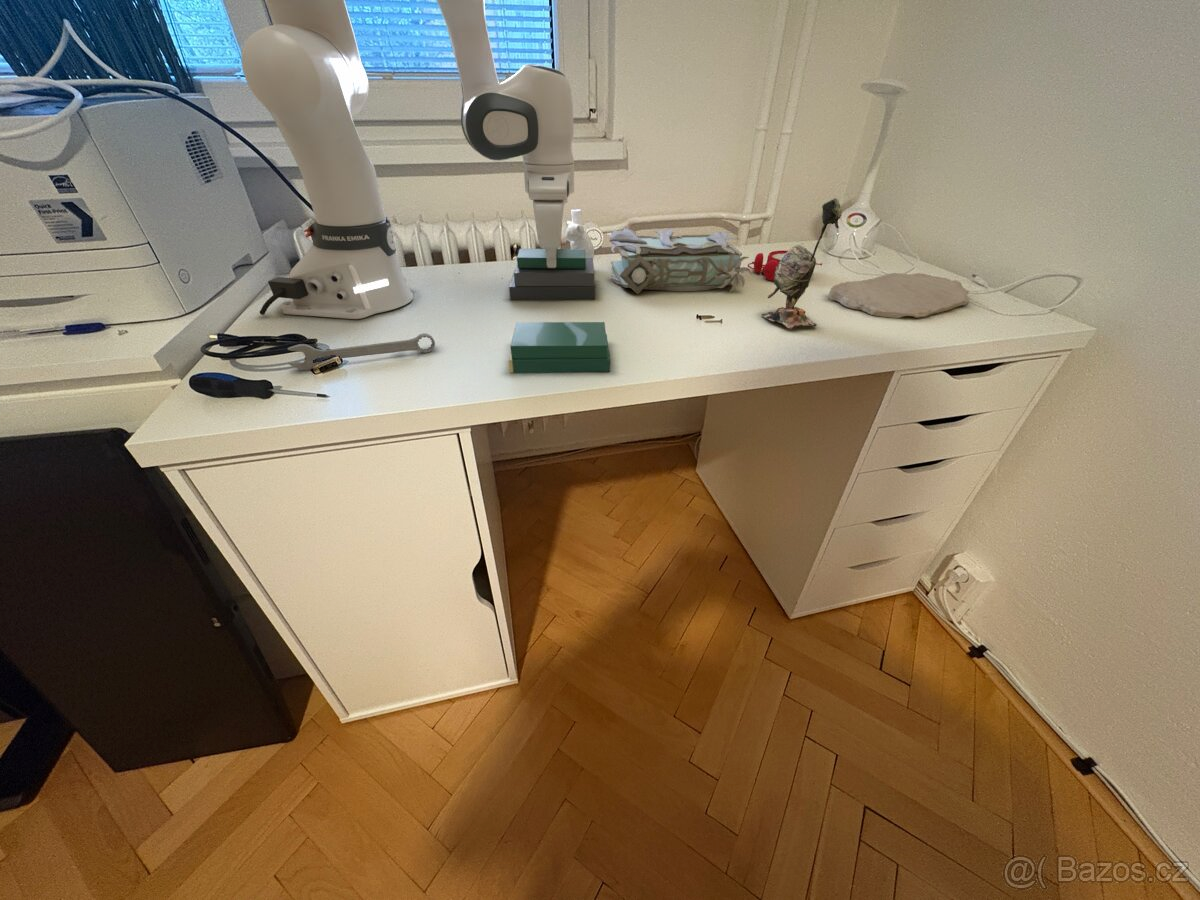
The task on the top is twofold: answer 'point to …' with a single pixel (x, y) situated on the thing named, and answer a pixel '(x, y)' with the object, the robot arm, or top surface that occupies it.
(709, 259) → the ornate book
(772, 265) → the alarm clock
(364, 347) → the combination wrench
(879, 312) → the stone tablet
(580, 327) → the green rectangular block
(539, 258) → the green book
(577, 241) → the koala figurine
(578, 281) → the grey books
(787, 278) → the plant with pod
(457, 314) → the top surface
